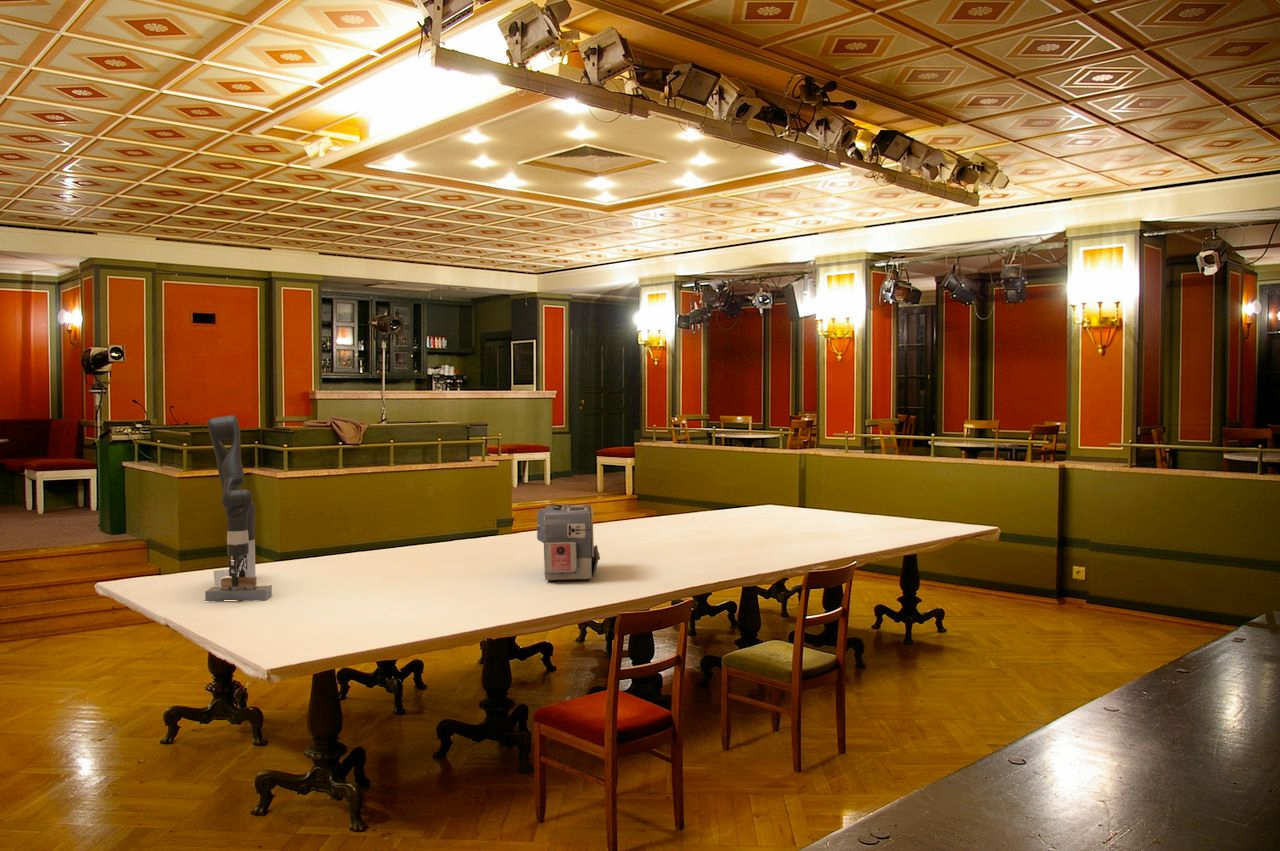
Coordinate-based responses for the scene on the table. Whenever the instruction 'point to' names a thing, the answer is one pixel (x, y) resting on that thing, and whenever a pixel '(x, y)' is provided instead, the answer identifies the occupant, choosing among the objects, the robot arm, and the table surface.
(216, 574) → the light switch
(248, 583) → the brown u-shaped block
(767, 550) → the table surface
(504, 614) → the table surface
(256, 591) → the grey slotted holder
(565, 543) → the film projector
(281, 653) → the table surface
